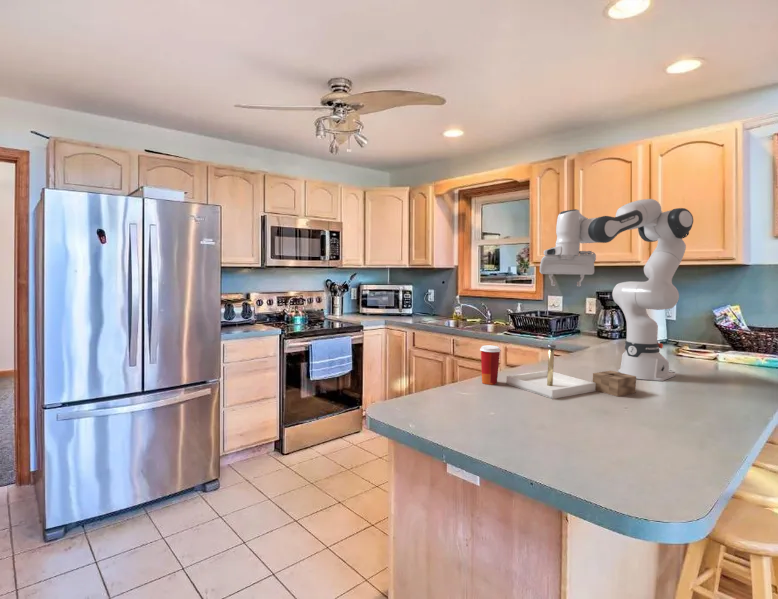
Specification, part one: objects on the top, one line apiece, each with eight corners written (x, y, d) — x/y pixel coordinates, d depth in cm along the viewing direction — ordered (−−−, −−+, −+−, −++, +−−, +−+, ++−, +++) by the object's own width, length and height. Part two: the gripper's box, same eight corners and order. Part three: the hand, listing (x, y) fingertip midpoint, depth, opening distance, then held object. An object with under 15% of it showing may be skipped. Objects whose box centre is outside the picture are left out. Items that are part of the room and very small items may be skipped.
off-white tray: (547, 377, 182) (547, 370, 182) (595, 391, 163) (595, 382, 163) (506, 383, 172) (506, 376, 172) (552, 399, 153) (552, 390, 152)
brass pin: (549, 383, 169) (551, 344, 168) (555, 385, 167) (557, 345, 166) (543, 384, 168) (545, 344, 167) (550, 386, 165) (551, 346, 164)
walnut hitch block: (609, 386, 170) (610, 370, 170) (635, 392, 161) (636, 376, 161) (592, 389, 165) (593, 373, 165) (617, 396, 156) (618, 379, 156)
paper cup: (498, 380, 176) (499, 345, 175) (501, 385, 169) (502, 348, 168) (477, 380, 177) (478, 344, 176) (479, 385, 170) (480, 348, 168)
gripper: (595, 251, 177) (594, 286, 178) (540, 251, 185) (539, 285, 186) (596, 250, 172) (594, 287, 173) (539, 250, 179) (538, 285, 180)
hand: (565, 286), depth 179 cm, fingers open, 8 cm apart
